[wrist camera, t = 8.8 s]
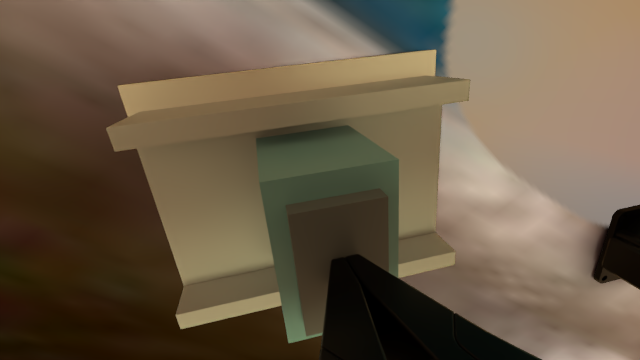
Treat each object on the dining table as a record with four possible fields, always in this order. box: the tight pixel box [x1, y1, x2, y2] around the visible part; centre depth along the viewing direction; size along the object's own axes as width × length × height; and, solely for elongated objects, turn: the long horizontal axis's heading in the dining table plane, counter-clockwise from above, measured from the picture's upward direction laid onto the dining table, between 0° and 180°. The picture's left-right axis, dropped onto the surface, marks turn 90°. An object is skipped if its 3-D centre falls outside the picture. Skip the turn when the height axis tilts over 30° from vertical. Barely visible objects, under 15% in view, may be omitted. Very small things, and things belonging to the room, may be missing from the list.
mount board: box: [106, 50, 470, 329], centre depth 14 cm, size 14×11×4 cm
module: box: [256, 125, 399, 343], centre depth 12 cm, size 6×4×6 cm, turn 5°
